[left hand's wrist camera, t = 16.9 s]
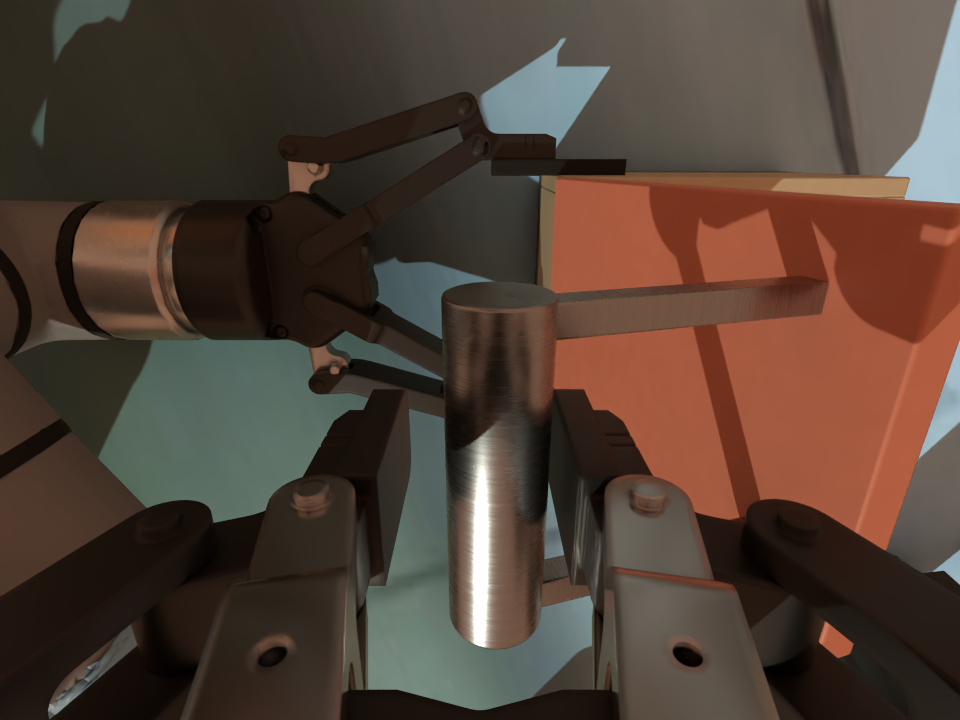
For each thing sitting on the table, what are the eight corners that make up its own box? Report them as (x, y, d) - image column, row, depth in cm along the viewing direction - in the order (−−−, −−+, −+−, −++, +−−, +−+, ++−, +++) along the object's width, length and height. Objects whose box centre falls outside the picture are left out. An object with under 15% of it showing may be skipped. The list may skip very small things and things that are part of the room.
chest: (782, 171, 33) (911, 176, 23) (752, 325, 36) (852, 386, 27) (539, 171, 33) (564, 176, 23) (533, 325, 37) (552, 386, 27)
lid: (1008, 206, 9) (480, 224, 6) (852, 656, 12) (480, 775, 10) (578, 177, 23) (366, 179, 20) (564, 389, 26) (383, 412, 24)
